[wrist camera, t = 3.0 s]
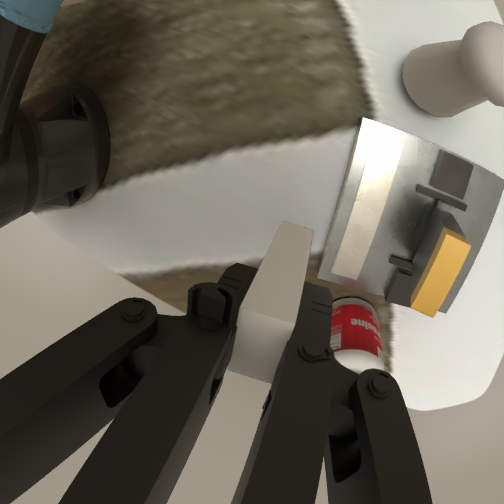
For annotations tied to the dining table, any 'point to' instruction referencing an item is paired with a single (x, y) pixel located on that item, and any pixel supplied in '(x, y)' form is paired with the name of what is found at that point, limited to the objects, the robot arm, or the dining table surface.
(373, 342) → the pill bottle
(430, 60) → the salt shaker
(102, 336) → the robot arm
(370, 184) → the panel
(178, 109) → the dining table surface
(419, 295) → the paddle
